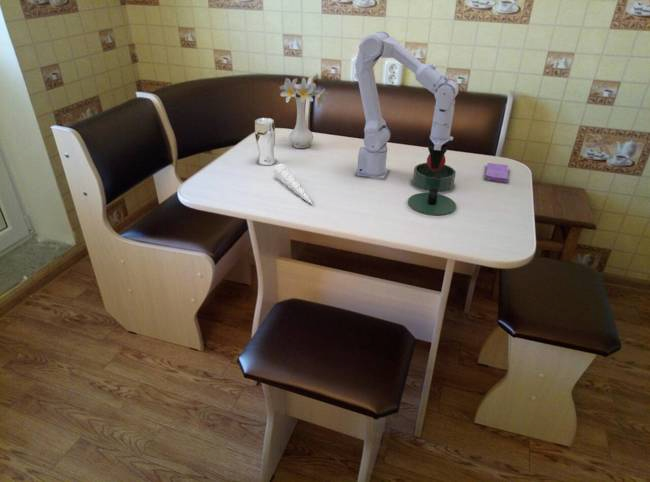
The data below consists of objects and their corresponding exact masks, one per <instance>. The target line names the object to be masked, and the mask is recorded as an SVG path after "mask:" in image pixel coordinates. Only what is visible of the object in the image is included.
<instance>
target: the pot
mask: <svg viewBox="0 0 650 482" xmlns="http://www.w3.org/2000/svg"><path fill="white" fill-rule="evenodd" d="M456 173H457V171H456V170H455V169H454V168H453V167H451V166H450V165H447V164H445V165H444V166H443V167H442V168H441V169H440V170H438V171H436V172H433V171H432V170H431V169H430V168H429V167H428V165H427V162H423V163H419V164H417V165H415V166H414V168H413V175H412V184H413V185H414V186H415V188H417V189H420V190H422V191H426V192H429V189H431V188H435V189H437V190H438V193H444V192H448V191H451V190H452V189H453V188H454V186H455V178H456Z"/></svg>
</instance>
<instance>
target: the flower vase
mask: <svg viewBox="0 0 650 482" xmlns="http://www.w3.org/2000/svg"><path fill="white" fill-rule="evenodd" d="M297 82H298V78H297V77H296V78H294V79H293V80H292V81H291V80H290V78H288V77H286V78H285V79H284V83H283V85H281V86H279V90H280V91H281V90H282V92H281V93H280V97H283V98H284V97H285V102H286V103H289V102H290V100H291V98H294V99H295V103H296V121H295V122H296V123H295V126H294V128H293V129H292V130H291V132H290V133H289V136H288V139H289V141H290V143H291V144H292V145H293V147H294V148H297V149H306V148H309V147H310V144H311V143H312V142H313V140H314V134H313V132H312V131H311V130H310V129H309V128H308V125H307V122H306V100H307V101H309V102H314V98H313V97H316V109H317V110H319V108H320V105H321V106H323V107H324V105H325V100H324V98H326V97H327V95H328V94H329V92H328V91H326V88H323V90H321V91H318V90H317V83H316V82H313V80H312V79H310V83H308V84H307V80H306V78H305V77H302V79H301V83H298V84H297Z"/></svg>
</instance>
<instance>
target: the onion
mask: <svg viewBox="0 0 650 482" xmlns="http://www.w3.org/2000/svg"><path fill="white" fill-rule="evenodd" d="M426 163H427V165H428V167H429V168H430V169H431V170H432V171H433V172H436V171H438V170H440V169H441V168H442V167H443V166H444V165H446V155H445V154H444V155H443V157H442V159H441V162H440V165H439V168H438V169H436V168H431V156H430V153H429V154H428V156H427V158H426Z"/></svg>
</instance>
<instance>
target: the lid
mask: <svg viewBox="0 0 650 482" xmlns="http://www.w3.org/2000/svg"><path fill="white" fill-rule="evenodd" d="M407 204H408V206H409V208H410V209H412V210H413V211H414V212H417V213H420V214H422V215H426V216H435V217H437V216H446V215H450V214H452V213H453V212H454V211H456V209H457V204H456V202H455V201H454V199H452V198H450V197H449V196H446V195H444V194H440V193H439V192H438V190H437V189H435V188H431V189H429V191H428V192H419V193H415V194H412V195H410V197H408V199H407Z"/></svg>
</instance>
